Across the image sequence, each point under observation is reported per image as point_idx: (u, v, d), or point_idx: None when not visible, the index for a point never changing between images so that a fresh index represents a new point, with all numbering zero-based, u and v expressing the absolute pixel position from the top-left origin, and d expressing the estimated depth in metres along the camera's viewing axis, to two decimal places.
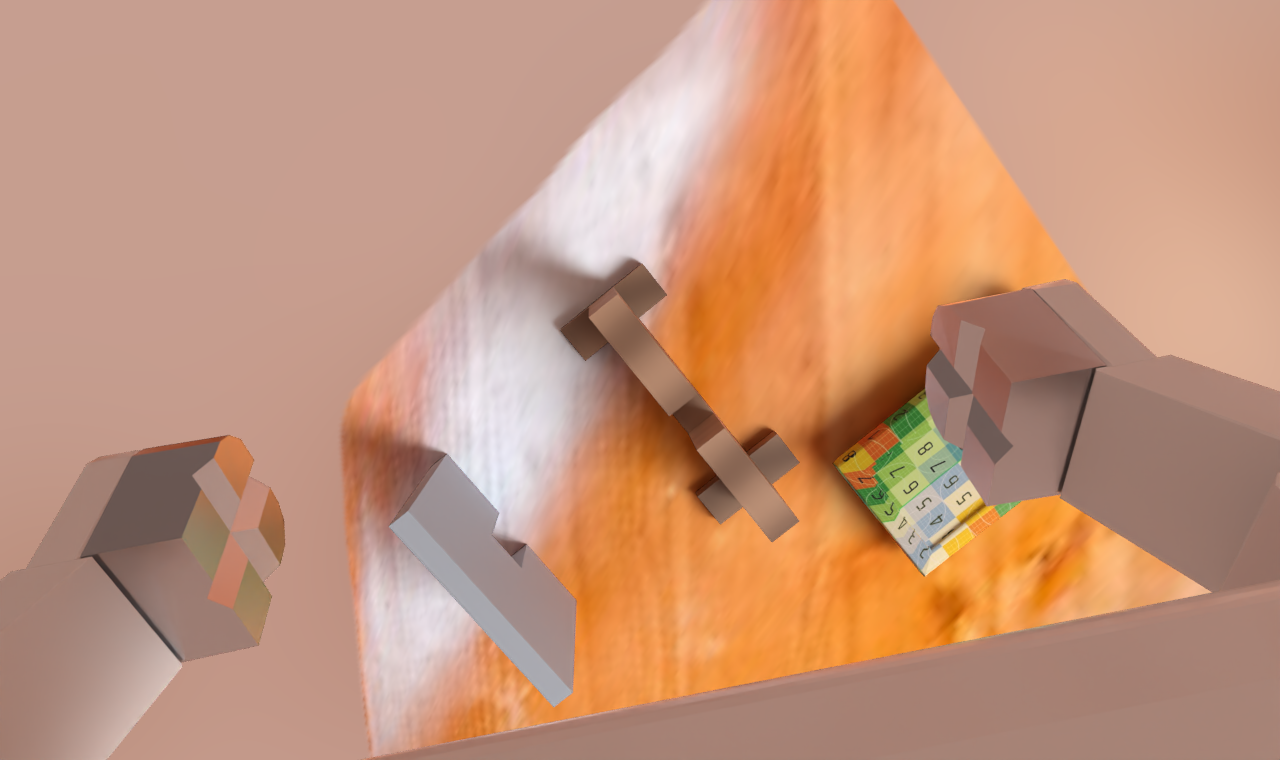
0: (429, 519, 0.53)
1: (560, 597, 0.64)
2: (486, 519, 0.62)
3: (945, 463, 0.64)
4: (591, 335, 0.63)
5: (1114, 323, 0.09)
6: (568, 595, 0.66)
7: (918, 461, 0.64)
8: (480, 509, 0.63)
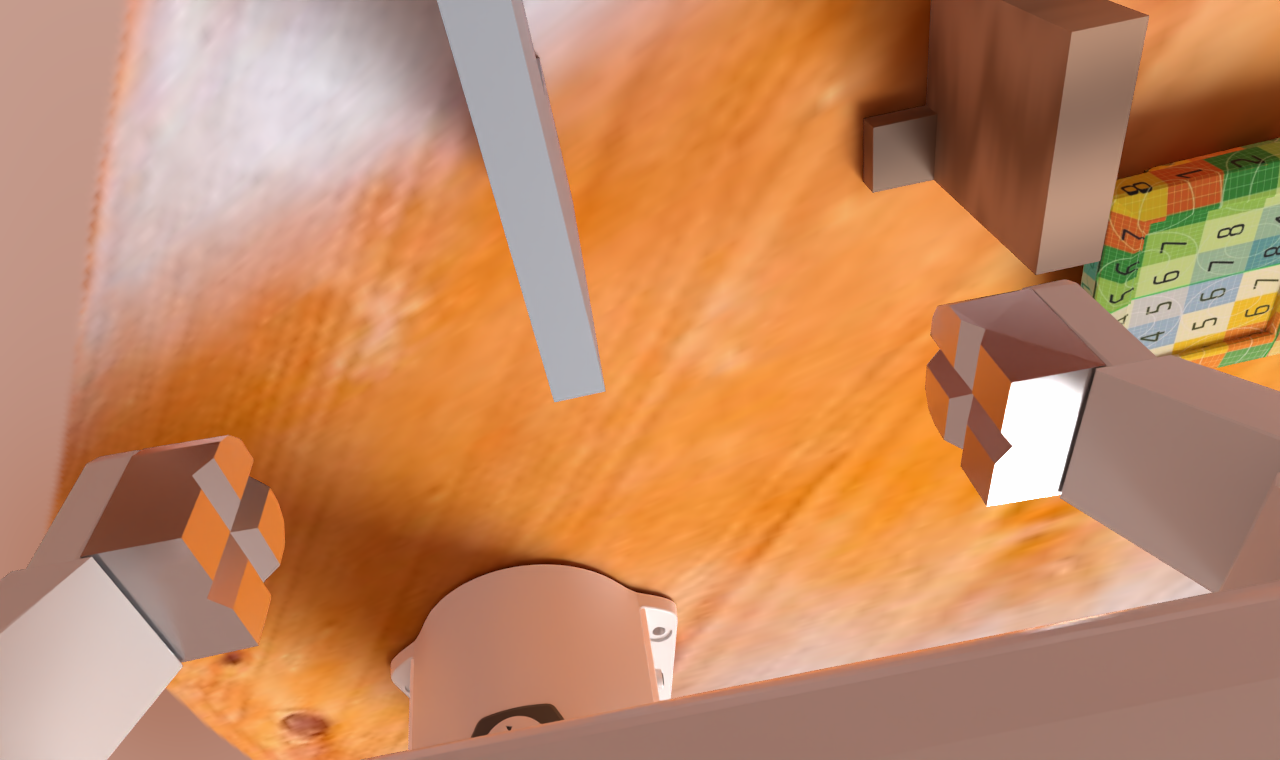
0: None
1: (567, 187, 0.33)
2: None
3: (1230, 265, 0.39)
4: None
5: (1114, 323, 0.09)
6: (569, 188, 0.35)
7: (1206, 244, 0.38)
8: None
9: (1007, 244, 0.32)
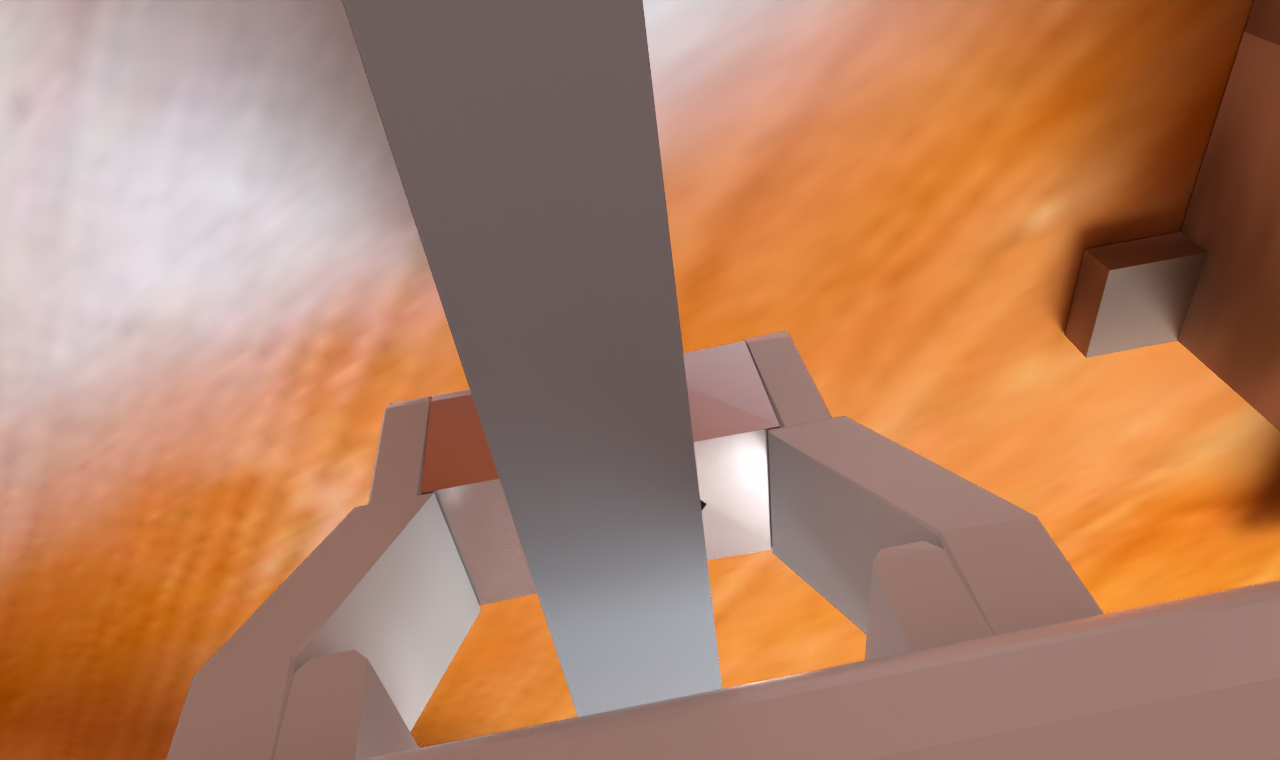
0: None
1: None
2: None
3: None
4: None
5: (811, 380, 0.08)
6: None
7: None
8: None
9: None
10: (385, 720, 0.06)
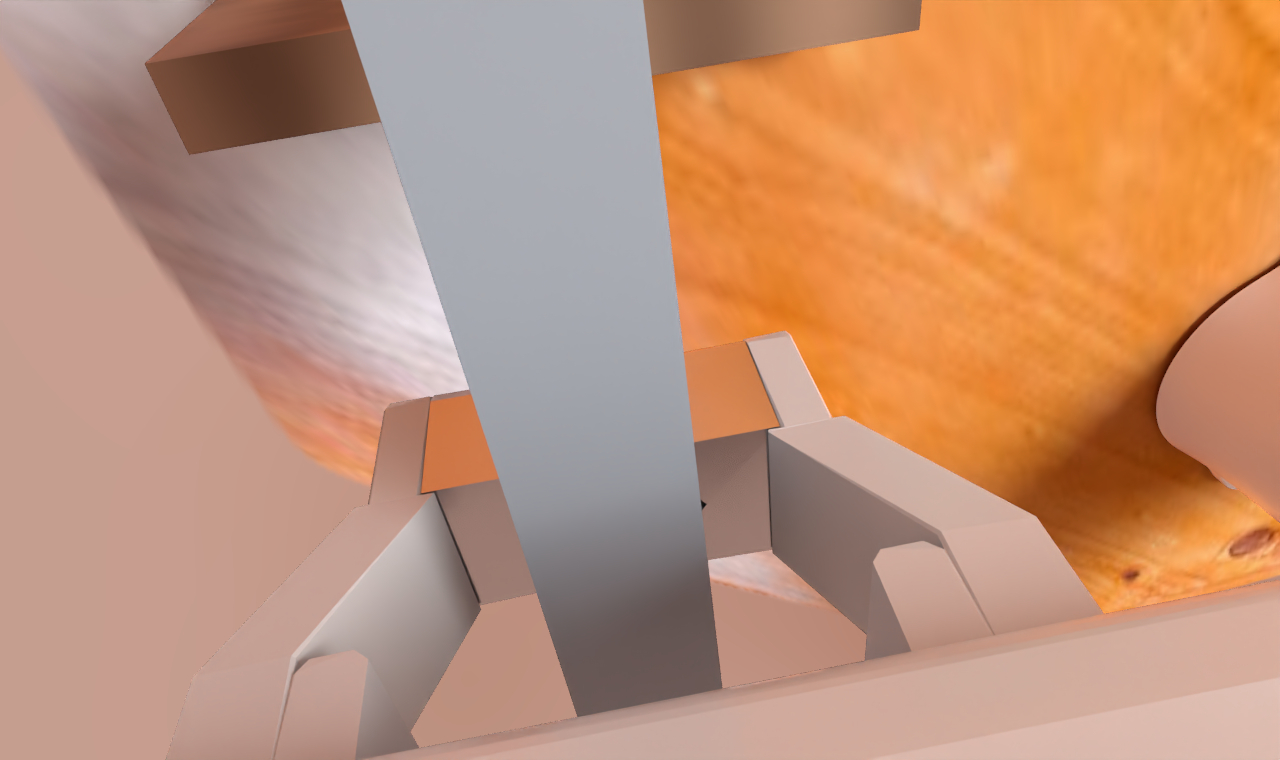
0: None
1: None
2: None
3: None
4: None
5: (810, 380, 0.08)
6: None
7: None
8: None
9: None
10: (385, 719, 0.06)
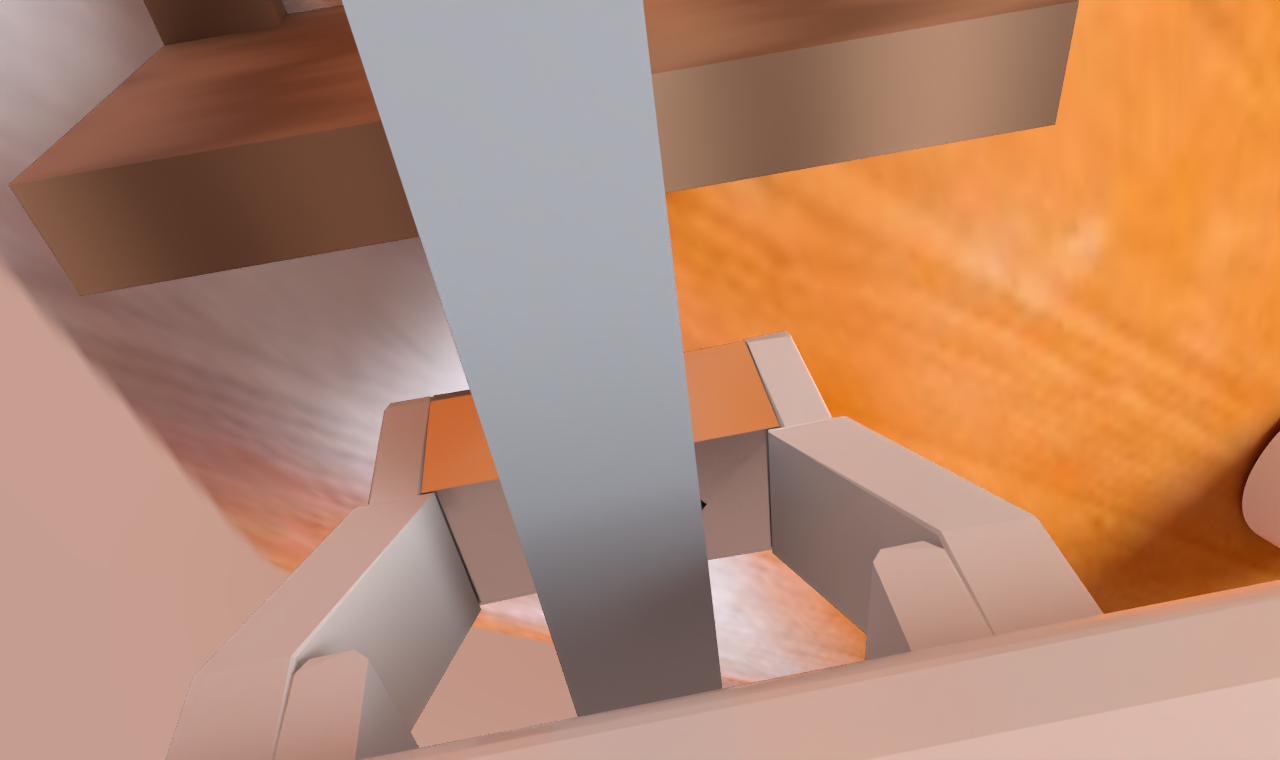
0: None
1: None
2: None
3: None
4: None
5: (810, 380, 0.08)
6: None
7: None
8: None
9: None
10: (384, 720, 0.06)
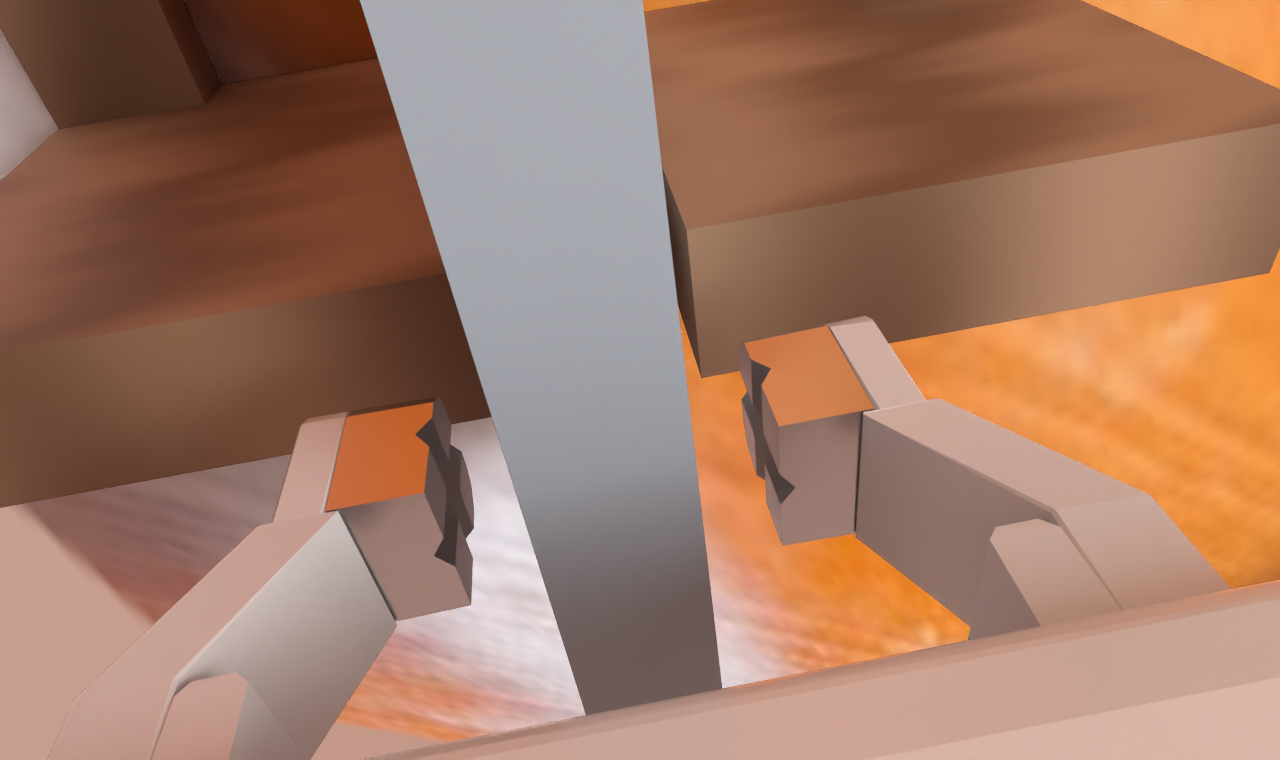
0: None
1: None
2: None
3: None
4: None
5: (898, 364, 0.08)
6: None
7: None
8: None
9: None
10: (267, 743, 0.06)
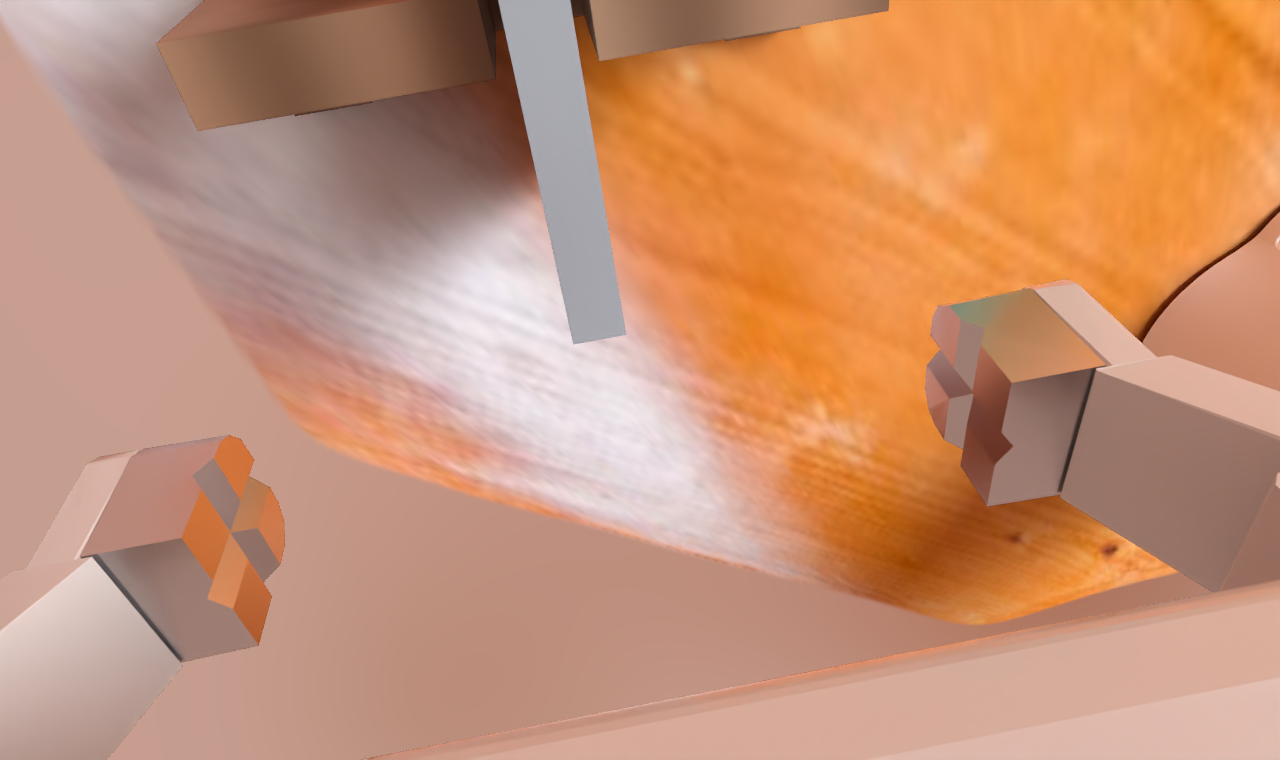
0: None
1: None
2: None
3: None
4: None
5: (1114, 324, 0.09)
6: None
7: None
8: None
9: None
10: None
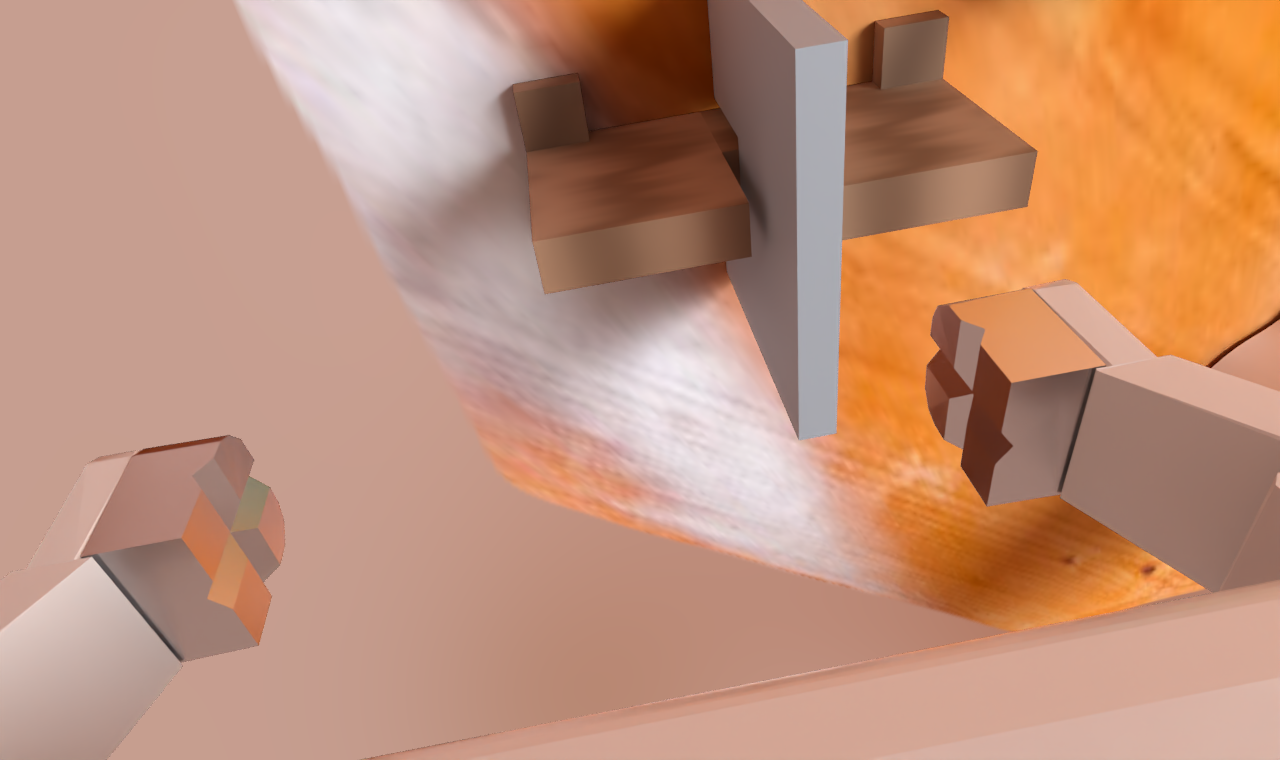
0: None
1: None
2: None
3: None
4: None
5: (1115, 323, 0.09)
6: None
7: None
8: None
9: None
10: None
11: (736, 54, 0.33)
